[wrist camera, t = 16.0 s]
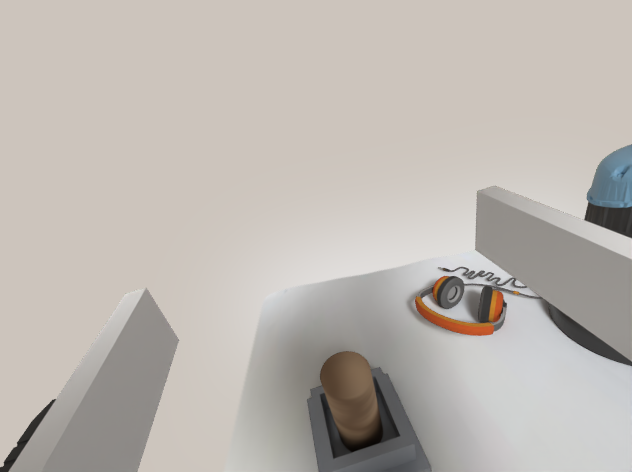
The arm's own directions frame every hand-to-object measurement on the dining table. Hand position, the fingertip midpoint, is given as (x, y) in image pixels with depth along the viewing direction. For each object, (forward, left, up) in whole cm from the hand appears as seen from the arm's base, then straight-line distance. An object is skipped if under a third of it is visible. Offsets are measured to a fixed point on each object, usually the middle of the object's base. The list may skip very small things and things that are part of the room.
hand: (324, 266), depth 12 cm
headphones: (-23, -22, -30) cm, 44 cm away
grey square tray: (0, -10, -30) cm, 32 cm away
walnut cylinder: (0, -10, -29) cm, 31 cm away
